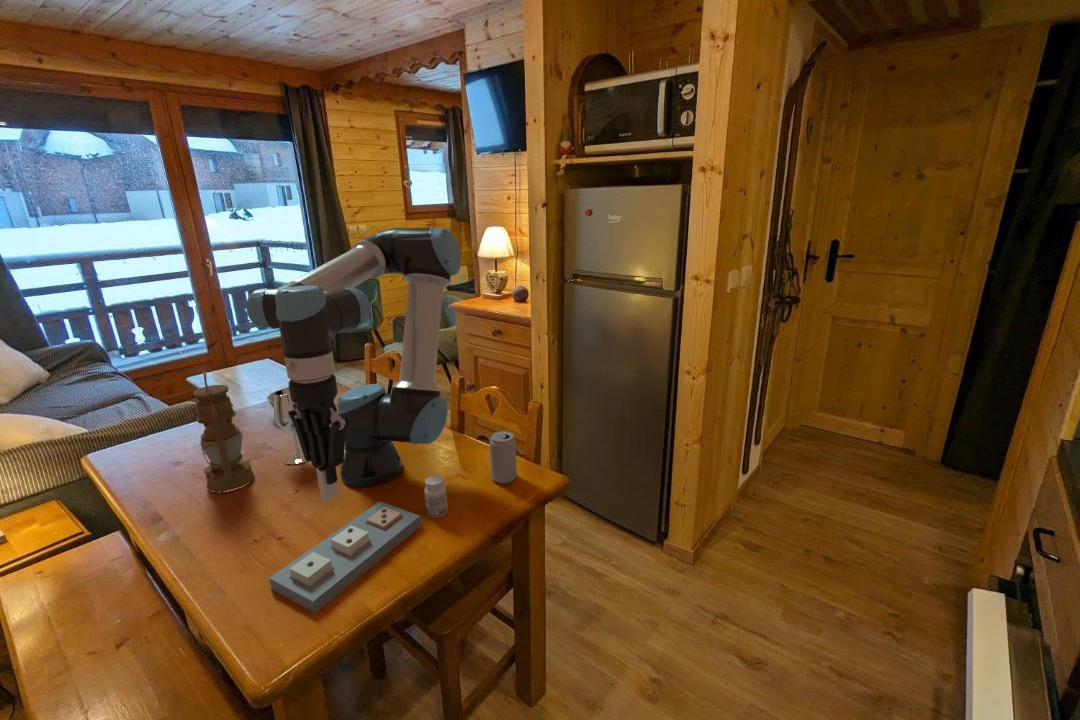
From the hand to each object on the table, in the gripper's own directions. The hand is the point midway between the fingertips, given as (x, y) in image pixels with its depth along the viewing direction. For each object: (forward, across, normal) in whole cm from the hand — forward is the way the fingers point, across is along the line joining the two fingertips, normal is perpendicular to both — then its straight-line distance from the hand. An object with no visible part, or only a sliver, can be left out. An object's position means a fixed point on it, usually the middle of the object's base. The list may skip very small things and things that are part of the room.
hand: (329, 497), depth 92 cm
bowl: (+14, -73, +46) cm, 87 cm away
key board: (+15, 0, +4) cm, 16 cm away
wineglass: (+14, -45, +25) cm, 54 cm away
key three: (+14, 0, +13) cm, 19 cm away
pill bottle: (+15, +6, +22) cm, 28 cm away
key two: (+14, 0, +4) cm, 14 cm away
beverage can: (+14, +12, +41) cm, 46 cm away
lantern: (+15, -50, +10) cm, 53 cm away
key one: (+14, -1, -5) cm, 15 cm away
